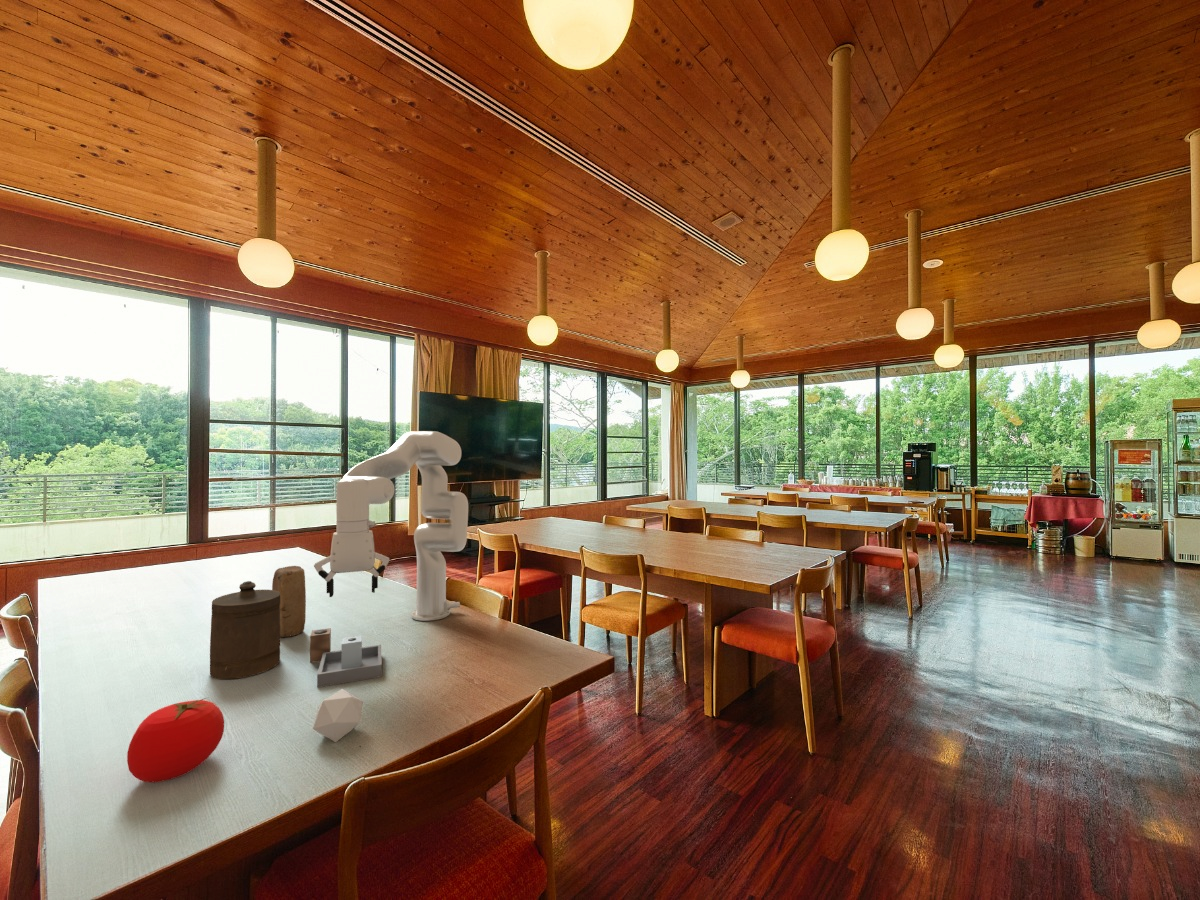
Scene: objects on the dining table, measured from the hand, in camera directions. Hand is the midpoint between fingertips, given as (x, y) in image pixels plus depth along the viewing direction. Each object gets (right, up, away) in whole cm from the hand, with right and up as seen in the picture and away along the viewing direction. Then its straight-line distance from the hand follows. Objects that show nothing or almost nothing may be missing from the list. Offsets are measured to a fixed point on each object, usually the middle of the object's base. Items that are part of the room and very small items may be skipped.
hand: (352, 593), depth 127 cm
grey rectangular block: (0, -19, 0) cm, 19 cm away
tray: (0, -20, 0) cm, 20 cm away
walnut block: (-12, -20, +7) cm, 24 cm away
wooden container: (-28, -20, +1) cm, 34 cm away
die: (+12, -20, -29) cm, 37 cm away
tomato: (-11, -20, -40) cm, 46 cm away
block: (-33, -20, +26) cm, 46 cm away
